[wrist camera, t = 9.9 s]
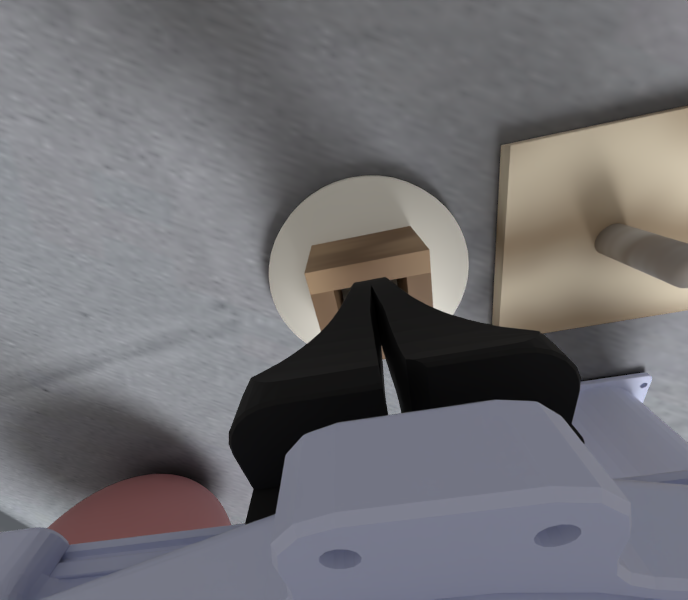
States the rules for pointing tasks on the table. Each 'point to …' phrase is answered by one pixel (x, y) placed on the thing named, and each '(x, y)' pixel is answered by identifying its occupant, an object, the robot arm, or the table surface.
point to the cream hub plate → (356, 220)
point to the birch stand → (593, 225)
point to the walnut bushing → (367, 268)
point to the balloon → (141, 510)
